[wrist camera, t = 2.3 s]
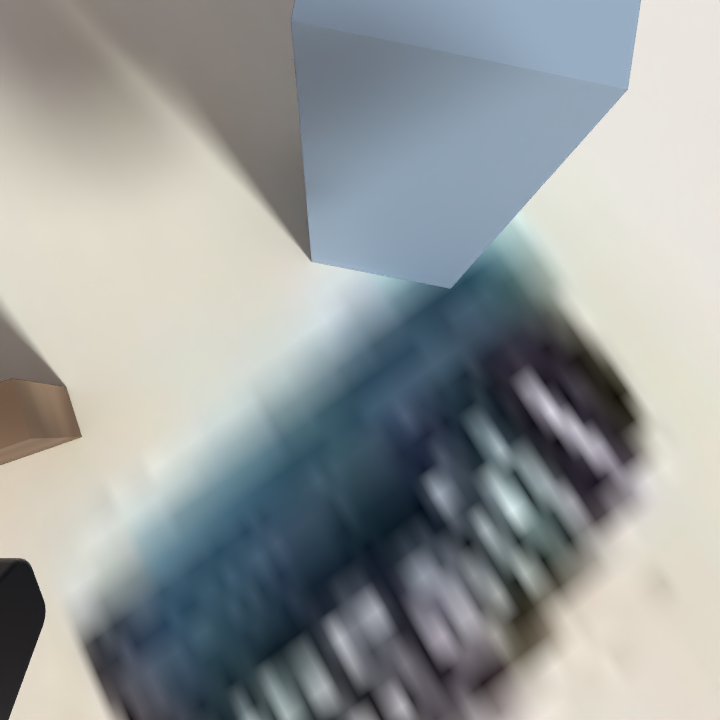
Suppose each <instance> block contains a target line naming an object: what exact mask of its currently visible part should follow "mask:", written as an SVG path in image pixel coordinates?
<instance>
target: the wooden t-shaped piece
mask: <svg viewBox="0 0 720 720" xmlns="http://www.w3.org/2000/svg"><path fill="white" fill-rule="evenodd" d="M80 437H82V436H81V433H80V429H79V426H78V423H77V420H76V417H75V414H74V410H73V407H72V404H71V401H70V398H69V395H68V391H67V388H66V387H62V386H56V385H50V384H44V383H38V382H31V381H25V380H19V379H13V378H12V379H9V380H6V381H3V382H0V465H2V464H5V463H8V462H11V461H14V460H17V459H20V458H22V457H25V456H28V455H31V454H34V453H37V452H40V451H43V450H46V449H48V448H51V447H54V446H57V445H60V444H63V443H66V442H69V441H72V440H75V439H77V438H80Z"/></svg>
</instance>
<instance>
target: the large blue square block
mask: <svg viewBox="0 0 720 720" xmlns="http://www.w3.org/2000/svg"><path fill="white" fill-rule="evenodd" d="M640 3H641V0H295V3H294V8H293V13H292V17H291V27H292V39H293V50H294V62H295V74H296V85H297V97H298V109H299V120H300V132H301V144H302V155H303V167H304V179H305V190H306V202H307V214H308V225H309V237H310V249H311V260H312V262H316V263H321V264H327V265H332V266H337V267H342V268H347V269H352V270H357V271H363V272H368V273H373V274H378V275H383V276H388V277H394V278H399V279H404V280H409V281H414V282H419V283H424V284H430V285H435V286H440V287H445V288H450V289H451V287H452V286H453V285H454V284H455V283H456V282H457V281H458V280H459V278H460V277H461V276H462V275H463V274H464V273H465V272H466V271H467V269H468V268H469V267H470V266H471V265H472V264H473V263H474V262H475V260H476V259H477V258H478V257H479V256H480V255H481V254H482V253H483V252H484V250H485V249H486V248H487V247H488V246H489V245H490V244H491V243H492V241H493V240H494V239H495V238H496V237H497V236H498V235H499V234H500V232H501V231H502V230H503V229H504V228H505V227H506V226H507V225H508V223H509V222H510V221H511V220H512V219H513V218H514V217H515V216H516V214H517V213H518V212H519V211H520V210H521V209H522V208H523V207H524V205H525V204H526V203H527V202H528V201H529V200H530V199H531V198H532V196H533V195H534V194H535V193H536V192H537V191H538V190H539V189H540V187H541V186H542V185H543V184H544V183H545V182H546V181H547V180H548V178H549V177H550V176H551V175H552V174H553V173H554V172H555V171H556V169H557V168H558V167H559V166H560V165H561V164H562V163H563V162H564V160H565V159H566V158H567V157H568V156H569V155H570V154H571V153H572V151H573V150H574V149H575V148H576V147H577V146H578V145H579V144H580V142H581V141H582V140H583V139H584V138H585V137H586V136H587V135H588V133H589V132H590V131H591V130H592V129H593V128H594V127H595V126H596V124H597V123H598V122H599V121H600V120H601V119H602V118H603V117H604V116H605V114H606V113H607V112H608V111H609V110H610V109H611V108H612V107H613V105H614V104H615V103H616V102H617V101H618V100H619V99H620V98H621V96H622V95H623V94H624V93H625V92H626V91H627V90H628V84H629V78H630V71H631V64H632V57H633V51H634V44H635V37H636V30H637V23H638V17H639V10H640Z"/></svg>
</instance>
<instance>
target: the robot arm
mask: <svg viewBox="0 0 720 720" xmlns="http://www.w3.org/2000/svg"><path fill="white" fill-rule="evenodd" d="M44 619H45V603H44V600H43V597H42V594H41V591H40V589H39V586H38V583H37V580H36V578H35V575H34V572H33V570H32V567H31V565H30V563H28V562H27V561H26V560H25V559H21V558H0V720H9V717H10V714H11V711H12V709H13V706H14V703H15V700H16V698H17V695H18V692H19V689H20V687H21V684H22V681H23V678H24V676H25V673H26V670H27V668H28V665H29V662H30V659H31V657H32V654H33V651H34V648H35V646H36V643H37V640H38V637H39V635H40V632H41V629H42V627H43V623H44Z"/></svg>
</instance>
